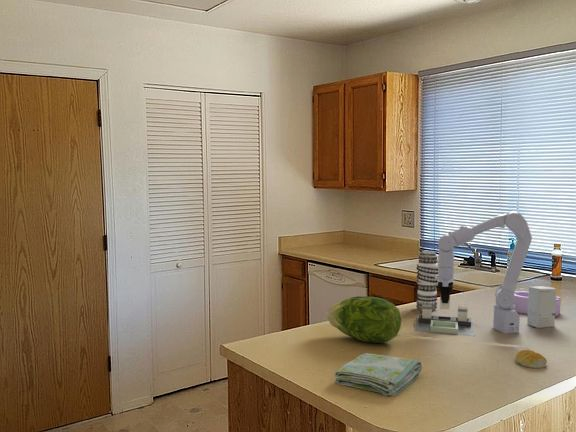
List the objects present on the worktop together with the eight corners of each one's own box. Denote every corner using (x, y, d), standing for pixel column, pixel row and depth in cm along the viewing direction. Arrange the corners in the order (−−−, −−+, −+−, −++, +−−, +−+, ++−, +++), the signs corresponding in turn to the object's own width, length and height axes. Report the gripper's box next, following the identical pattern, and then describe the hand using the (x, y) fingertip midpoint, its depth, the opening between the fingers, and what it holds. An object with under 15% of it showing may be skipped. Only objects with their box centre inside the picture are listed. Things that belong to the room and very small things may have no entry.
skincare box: (537, 328, 207) (539, 289, 206) (526, 324, 213) (527, 286, 212) (555, 326, 209) (557, 288, 208) (543, 322, 215) (545, 285, 214)
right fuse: (467, 325, 207) (467, 309, 206) (457, 325, 208) (458, 308, 207) (466, 323, 210) (467, 307, 210) (457, 322, 211) (457, 306, 211)
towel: (331, 385, 152) (331, 367, 151) (366, 363, 169) (366, 346, 169) (393, 400, 142) (393, 381, 141) (423, 375, 159) (423, 358, 159)
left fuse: (431, 323, 211) (431, 307, 210) (422, 322, 212) (422, 306, 211) (431, 320, 214) (431, 305, 213) (422, 320, 215) (422, 304, 214)
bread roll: (531, 358, 174) (532, 345, 174) (551, 368, 165) (551, 355, 165) (508, 360, 172) (509, 347, 172) (527, 370, 164) (527, 356, 163)
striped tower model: (410, 310, 233) (412, 251, 231) (423, 306, 240) (425, 249, 238) (429, 314, 227) (430, 254, 225) (442, 310, 233) (443, 252, 231)
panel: (474, 338, 194) (475, 330, 194) (413, 333, 200) (414, 326, 200) (472, 324, 212) (472, 317, 212) (416, 319, 218) (417, 313, 218)
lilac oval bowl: (561, 311, 233) (562, 295, 232) (556, 318, 223) (557, 301, 222) (511, 305, 244) (512, 289, 244) (504, 310, 234) (505, 294, 233)
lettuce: (336, 329, 204) (336, 288, 203) (406, 340, 191) (407, 296, 190) (318, 339, 192) (318, 295, 190) (392, 352, 178) (393, 305, 177)
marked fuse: (449, 309, 208) (449, 293, 208) (439, 308, 209) (440, 292, 209) (449, 307, 212) (449, 291, 211) (440, 306, 213) (440, 290, 212)
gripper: (435, 263, 217) (434, 297, 218) (434, 269, 203) (433, 305, 204) (454, 263, 215) (453, 298, 216) (454, 270, 201) (453, 306, 202)
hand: (445, 301), depth 210 cm, fingers closed on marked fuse, 3 cm apart
